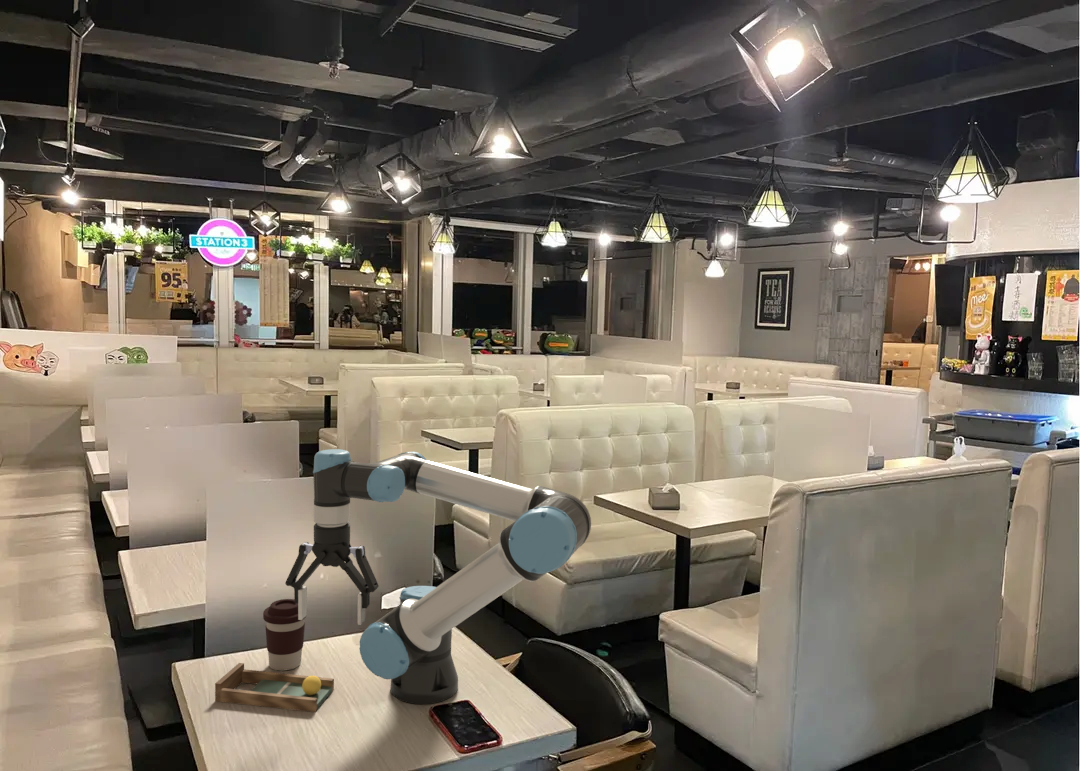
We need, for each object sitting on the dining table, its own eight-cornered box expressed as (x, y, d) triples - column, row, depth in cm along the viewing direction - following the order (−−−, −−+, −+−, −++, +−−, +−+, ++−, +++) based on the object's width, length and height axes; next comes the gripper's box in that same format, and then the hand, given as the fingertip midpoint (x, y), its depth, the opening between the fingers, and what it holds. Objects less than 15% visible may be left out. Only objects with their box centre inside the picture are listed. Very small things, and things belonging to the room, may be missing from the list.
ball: (324, 690, 173) (324, 673, 173) (316, 699, 169) (316, 681, 169) (306, 688, 174) (307, 671, 173) (298, 697, 170) (299, 679, 170)
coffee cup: (275, 653, 193) (275, 594, 192) (313, 657, 192) (314, 598, 190) (255, 671, 183) (255, 609, 182) (295, 676, 182) (296, 613, 181)
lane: (333, 689, 176) (333, 672, 176) (315, 712, 166) (315, 694, 166) (239, 679, 179) (239, 662, 179) (215, 701, 169) (215, 683, 169)
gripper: (393, 521, 169) (392, 617, 171) (284, 514, 172) (285, 609, 175) (382, 530, 162) (381, 631, 164) (268, 523, 165) (269, 622, 167)
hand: (331, 620), depth 169 cm, fingers open, 12 cm apart
